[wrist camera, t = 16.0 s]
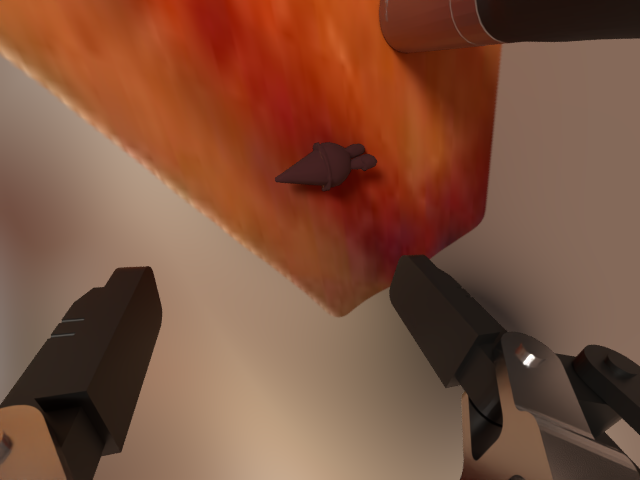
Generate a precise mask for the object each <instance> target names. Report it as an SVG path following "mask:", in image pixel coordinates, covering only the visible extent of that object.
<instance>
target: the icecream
mask: <svg viewBox="0 0 640 480" xmlns="http://www.w3.org/2000/svg"><path fill="white" fill-rule="evenodd" d="M364 151H365V148H364V146H363V145H361V144H352V145H350V146H349V147H347V148H344V147H342V146H340V145H338V144H335V143H330V142H327V143H321V144H319V143H314V145H313V152H311V153H310V154H308V155H307V156H306V157H304V158H303V159H301V160H300V161H299V162H297V163H296V164H294V165H293V166H292V167H290V168H289V169H287V170H286V171H284V172H283V173H281V174H280V175H279V176H277V177H276V178H275V181H276V182H280V183H294V184H308V185H321V186H322V191H327V190H328V191H329V190H330V188H331V187H335V186H338V185H340V184H341V183H342V182H343V181H344V180H345V179H346V178H347V176H348V175H349V173H350V172H351V169H362V170H363V171H366V170H367V169H370V168H373V167H374V166H376V163H377V160H376V158H375V157H374V156H372V155H370V154H364V155H362V156H359V155H361V154H363V153H364ZM357 156H359V157H357ZM354 157H355V158H354ZM351 158H354V159H352V160H351Z"/></svg>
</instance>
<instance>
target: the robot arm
mask: <svg viewBox="0 0 640 480" xmlns="http://www.w3.org/2000/svg"><path fill="white" fill-rule="evenodd" d="M379 18H380V25H381V30H382V33H383V35H384V38H385V39H386V41H387V42H388V44H389V45H390V46H391V47H392V48H394V49H395V50H397V51H399V52H403V53H412V52H424V51H435V50H445V49H455V48H466V47H476V46H485V45H494V44H504V43H514V42H526V41H528V42H530V41H531V42H533V41H534V42H568V41H581V40H597V39H632V38H640V0H381V1H380V9H379ZM390 300H391V303H392V305H393V306H394V308H395V310H396V311H397V313H398V314H399V316H400V318H401V319H402V321H403V322H404V324H405V325H406V327H407V328H408V330H409V331H410V333H411V335H412V336H413V338H414V339H415V341H416V342H417V344H418V345H419V347H420V349H421V350H422V352H423V353H424V355H425V357H426V358H427V360H428V361H429V363H430V364H431V366H432V367H433V369H434V371H435V372H436V374H437V375H438V377H439V378H440V380H441V382H442V383H443V384H444V386H445V388H449V387H453V386H458V385H461V386H462V387H463V389H464V390H465V391H464V393H463V394H462V397H461V405H462V430H463V431H462V432H463V457H464V463H463V471H462V475H461V478H460V480H640V469H639V468H638V466H637V465H636V464H635V463H634V462H633V461H632V460H631V459H630V458H629V457H628V456H627V455H626V454H625V453H624V452H623V451H622V450H621V449H620V448H619V447H618V445H617V444H616V443H615V442H614V441H613V440H612V439H611V438H610V437H609V436H608V435H607V434H606V433H605V431H606V430H607V429H609V428H610V427H611V426H612V425H614V424H615V423H616V422H618V421H619V420H620V419H622V418H623V419H624V420H625V421H626V422H627V423H628V424H629V425H630V426H631V427H632V428H633V429H634V430H635V431H636V432H637V433H638V434H639V435H640V366H638V365H637V364H636V363H634V362H633V361H631V360H630V359H628V358H627V357H625V356H623V355H622V354H620V353H618V352H616V351H614V350H611V349H609V348H606V347H603V346H599V345H588V346H586V347H585V348H584V349H583V350H582V351H581V352H580V353H579V354H578V356H576V357H574V356H567V355H561V354H555V353H554V352H553V351H552V350H550V349H549V348H548V347H547V346H546V345H544V344H543V343H542V342H540V341H538V340H536V339H535V338H533V337H531V336H528V335H526V334H523V333H519V332H507V331H506V330H505V329H504V328H503V327H502V326H501V325H500V324H499V323H498V322H497V321H496V320H495V319H494V318H493V317H492V316H491V315H490V314H489V313H488V312H487V311H486V310H485V309H484V308H483V307H482V306H481V305H480V304H479V303H478V302H477V301H476V300H475V299H474V298H473V297H472V298H471V297H470V294H469V293H467V291H466V290H464V289H462V288H461V286H460V285H459V284H458V283H457V282H456V281H455V280H454V279H453V278H452V277H451V276H450V275H448V274H447V273H445V272H444V271H442V270H440V269H438V268H437V267H436V266H435V265H434V264H433V263H432V262H431V261H430V260H429V259H428V258H427V257H426V256H425V255H404V256H402V257H401V258H400V259H399V262H398V265H397V268H396V271H395V274H394V277H393V280H392V283H391V286H390ZM161 321H162V307H161V302H160V298H159V294H158V290H157V286H156V282H155V278H154V274H153V271H152V269H151V267H149V266H146V267H124V268H117V269H116V270H115V271H114V272H113V274H112V276H111V277H110V279H109V281H108V282H107V284H106V285H105V287H100V288H93V289H91V290H90V291H89V292H87V293H86V294H85V295H83V296H82V297H81V298H79V299H78V300H77V301H75V302H74V303H73V305H72V306H71V307H70V309H69V310H68V312H67V313H66V314H65V316H64V317H63V319H62V323H59V324H58V326H57V327H56V328H55V330H54V331H53V333H52V334H51V338H50V339H47V341H46V342H45V344H44V345H43V346H42V348H41V349H40V351H39V352H38V353H37V355H36V356H35V357H34V359H33V360H32V362H31V363H30V365H29V366H28V367H27V369H26V370H25V372H24V373H23V374H22V376H21V377H20V378H19V380H18V381H17V383H16V384H15V385H14V387H13V388H12V389H11V391H10V392H9V394H8V395H7V396H6V398H5V399H4V401H3V402H2V403H1V405H0V480H93V477H94V474H95V472H96V469H97V466H98V463H99V461H100V458H101V456H105V455H110V454H115V453H120V452H121V451H122V448H123V445H124V441H125V438H126V435H127V432H128V429H129V426H130V422H131V419H132V416H133V413H134V409H135V407H136V403H137V400H138V397H139V394H140V391H141V387H142V384H143V381H144V378H145V374H146V372H147V368H148V365H149V362H150V359H151V356H152V352H153V349H154V346H155V343H156V340H157V337H158V333H159V330H160V327H161Z"/></svg>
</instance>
